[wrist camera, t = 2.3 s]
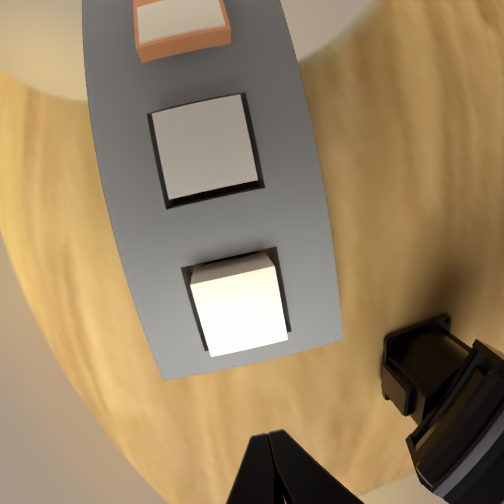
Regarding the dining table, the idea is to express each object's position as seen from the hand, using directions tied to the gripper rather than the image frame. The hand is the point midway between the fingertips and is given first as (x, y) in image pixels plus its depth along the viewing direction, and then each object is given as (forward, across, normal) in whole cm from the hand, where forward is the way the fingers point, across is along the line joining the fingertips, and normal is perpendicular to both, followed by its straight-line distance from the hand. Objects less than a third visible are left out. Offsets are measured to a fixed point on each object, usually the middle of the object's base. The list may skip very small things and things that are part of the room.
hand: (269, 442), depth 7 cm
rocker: (+8, 0, -16) cm, 18 cm away
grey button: (+11, 0, -8) cm, 14 cm away
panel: (+13, 0, -8) cm, 15 cm away
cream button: (+11, 0, 0) cm, 11 cm away
